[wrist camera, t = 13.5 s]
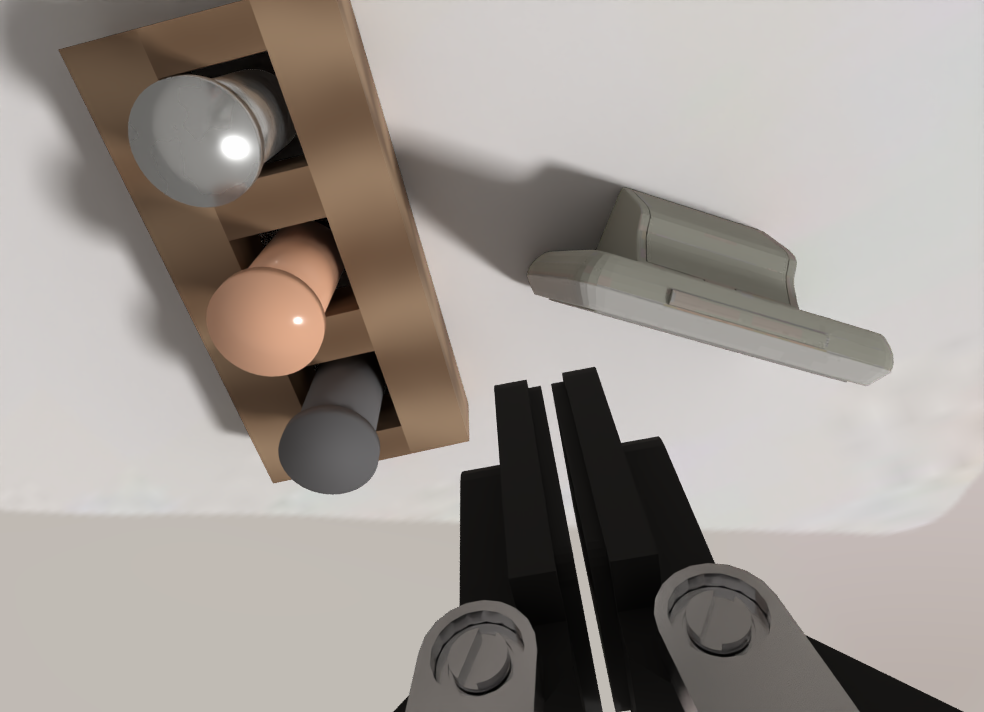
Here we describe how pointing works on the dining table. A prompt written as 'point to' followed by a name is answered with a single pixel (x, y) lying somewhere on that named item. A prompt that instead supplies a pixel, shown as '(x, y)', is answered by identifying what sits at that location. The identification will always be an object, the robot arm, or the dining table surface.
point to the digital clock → (706, 289)
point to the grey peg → (209, 134)
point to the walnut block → (294, 210)
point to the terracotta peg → (278, 302)
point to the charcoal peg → (336, 427)
